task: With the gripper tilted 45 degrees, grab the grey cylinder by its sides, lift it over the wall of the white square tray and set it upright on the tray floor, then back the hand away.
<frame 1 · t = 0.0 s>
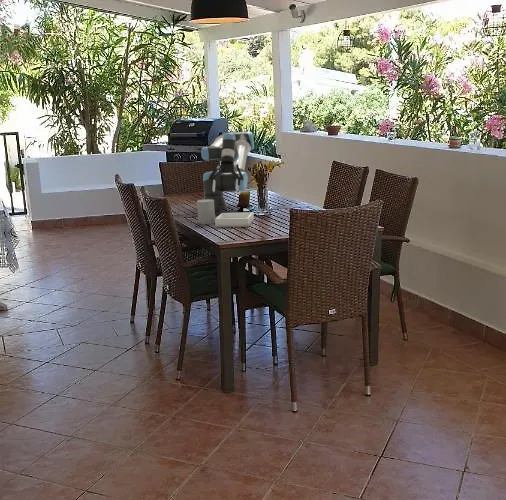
hand: (225, 190, 403), 15 cm above the table, tool tilted 35°, fingers open, 13 cm apart
white square tray: (235, 223, 386), on the table
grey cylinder: (206, 222, 394), on the table
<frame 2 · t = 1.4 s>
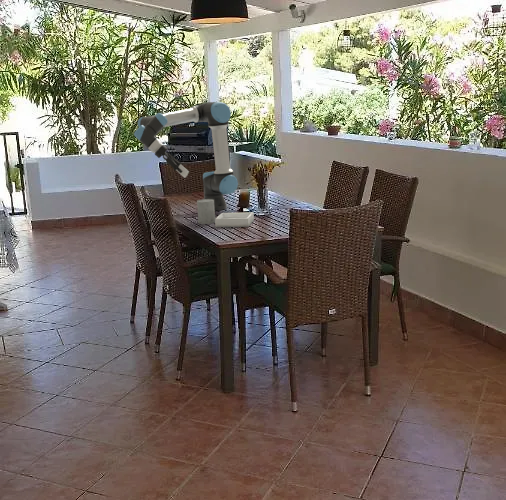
hand: (187, 175, 394), 26 cm above the table, tool tilted 45°, fingers open, 13 cm apart
nothing on the table moved.
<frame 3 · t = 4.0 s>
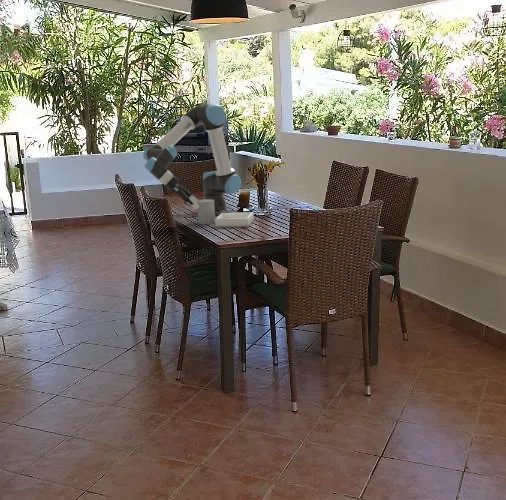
hand: (198, 206, 391), 9 cm above the table, tool tilted 45°, fingers open, 13 cm apart
nothing on the table moved.
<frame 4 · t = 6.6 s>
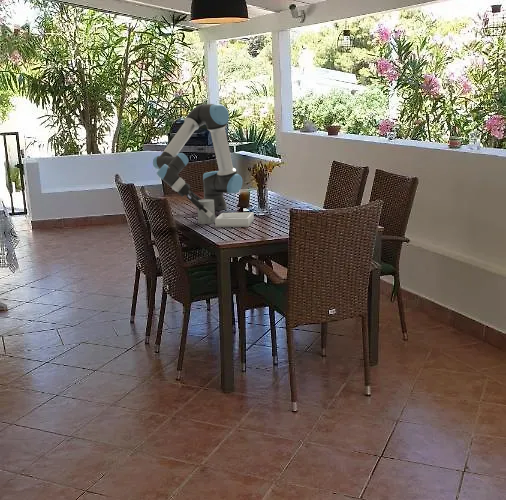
hand: (211, 214, 393), 4 cm above the table, tool tilted 45°, fingers closed on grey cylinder, 9 cm apart
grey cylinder: (206, 222, 394), on the table, touching gripper
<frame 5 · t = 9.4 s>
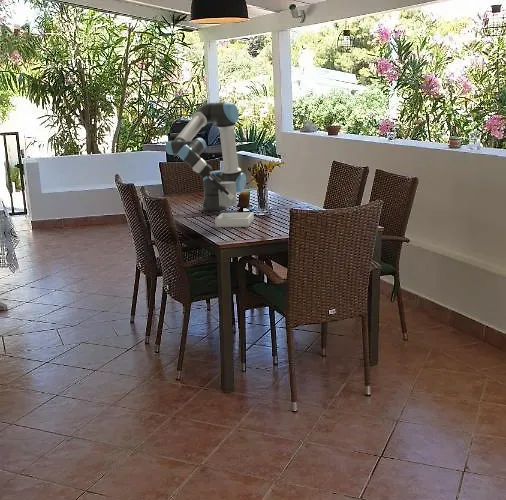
hand: (233, 196, 383), 15 cm above the table, tool tilted 45°, fingers closed on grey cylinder, 9 cm apart
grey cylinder: (227, 205, 384), point 10 cm above the table, touching gripper
when the fingers open (7 cm above the table, at t = 12.5 s): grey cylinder drops 1 cm, resting on white square tray.
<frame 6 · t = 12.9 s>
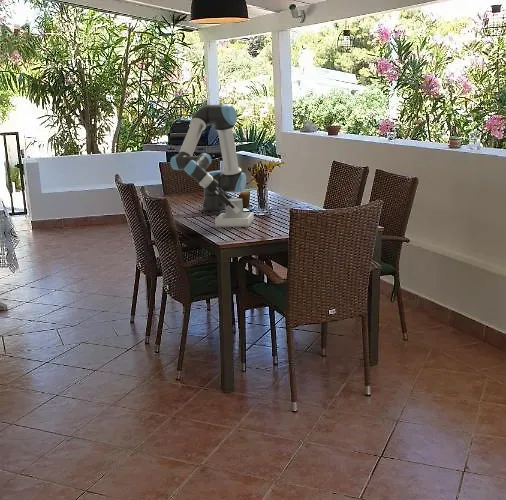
hand: (238, 209, 384), 8 cm above the table, tool tilted 45°, fingers open, 13 cm apart
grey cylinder: (234, 222, 385), point 1 cm above the table, touching white square tray
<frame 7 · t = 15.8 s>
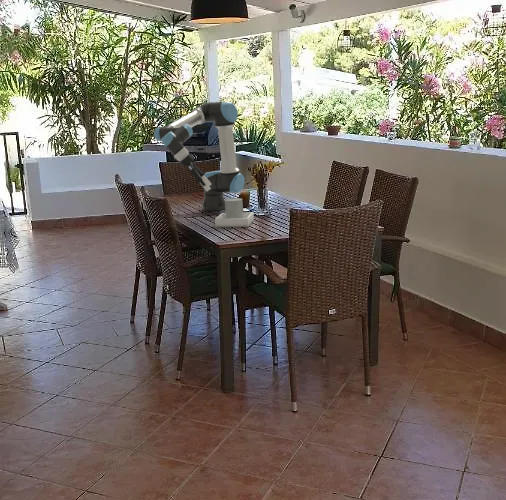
hand: (209, 187, 385), 20 cm above the table, tool tilted 35°, fingers open, 13 cm apart
nothing on the table moved.
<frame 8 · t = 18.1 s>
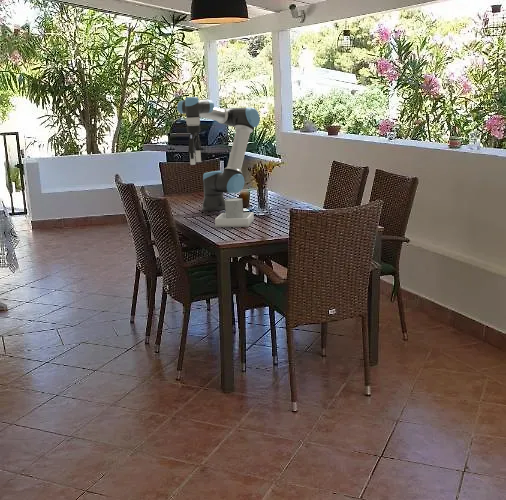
hand: (195, 163, 399), 32 cm above the table, tool pointing down, fingers open, 13 cm apart
nothing on the table moved.
at the end: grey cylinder inside the target area on the white square tray (0.1 cm from its centre), point 0.8 cm above the white square tray's base; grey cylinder tilted 0°; the gripper is holding nothing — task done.
